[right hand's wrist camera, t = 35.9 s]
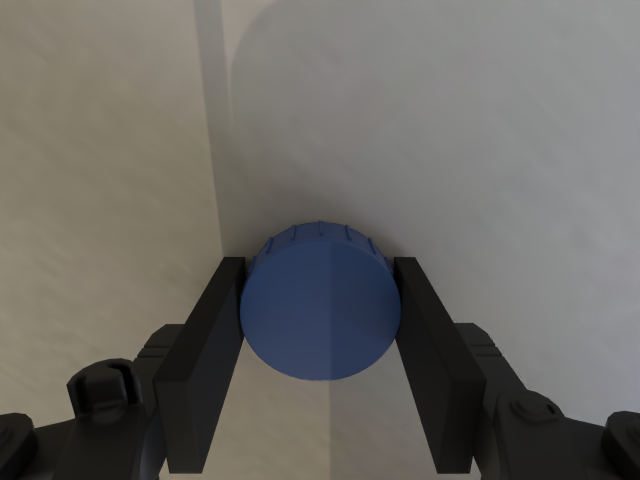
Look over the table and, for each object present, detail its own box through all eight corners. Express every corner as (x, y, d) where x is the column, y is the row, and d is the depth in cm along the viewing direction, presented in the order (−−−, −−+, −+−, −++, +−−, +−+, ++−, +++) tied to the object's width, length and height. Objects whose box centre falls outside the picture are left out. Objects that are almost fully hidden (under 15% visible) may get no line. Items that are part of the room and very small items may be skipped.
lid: (217, 265, 14) (203, 289, 13) (350, 192, 13) (356, 207, 12) (293, 371, 16) (291, 405, 14) (416, 312, 15) (430, 341, 13)
